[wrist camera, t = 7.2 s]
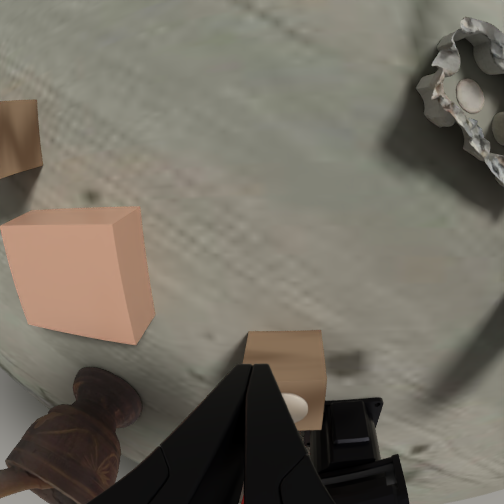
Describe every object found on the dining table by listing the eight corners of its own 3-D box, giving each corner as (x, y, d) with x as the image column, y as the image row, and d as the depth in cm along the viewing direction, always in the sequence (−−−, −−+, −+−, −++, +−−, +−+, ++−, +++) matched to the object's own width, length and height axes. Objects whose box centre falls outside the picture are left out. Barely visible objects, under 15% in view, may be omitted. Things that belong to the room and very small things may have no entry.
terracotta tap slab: (156, 312, 23) (136, 345, 19) (54, 299, 24) (28, 324, 20) (142, 205, 20) (112, 224, 16) (33, 209, 21) (-1, 225, 17)
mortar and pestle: (50, 383, 28) (-36, 513, 10) (45, 329, 25) (-78, 479, 7) (142, 429, 29) (78, 586, 10) (153, 383, 25) (64, 586, 7)
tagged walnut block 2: (317, 380, 23) (321, 431, 19) (254, 380, 24) (246, 432, 19) (320, 329, 22) (327, 382, 17) (248, 330, 22) (238, 383, 17)
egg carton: (398, 100, 16) (425, 95, 12) (449, 17, 13) (480, 0, 9) (506, 204, 17) (540, 223, 13) (547, 126, 14) (584, 132, 10)
